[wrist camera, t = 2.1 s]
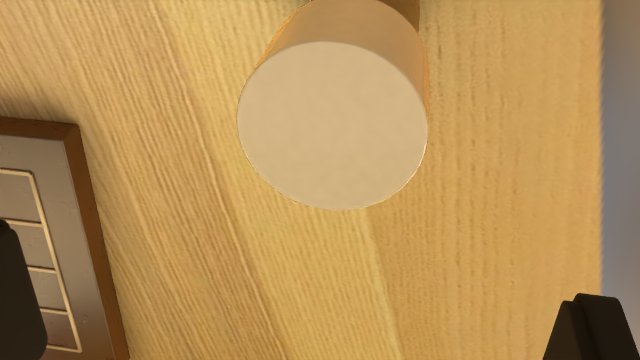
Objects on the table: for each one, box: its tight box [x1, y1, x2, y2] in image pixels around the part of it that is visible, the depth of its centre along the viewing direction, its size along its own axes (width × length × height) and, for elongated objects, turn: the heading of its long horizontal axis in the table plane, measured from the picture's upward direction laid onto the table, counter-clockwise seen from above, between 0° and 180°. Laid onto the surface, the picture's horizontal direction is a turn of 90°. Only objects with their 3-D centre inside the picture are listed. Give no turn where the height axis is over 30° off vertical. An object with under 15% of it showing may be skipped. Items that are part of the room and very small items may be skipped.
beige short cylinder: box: [237, 0, 429, 211], centre depth 17 cm, size 5×5×4 cm
